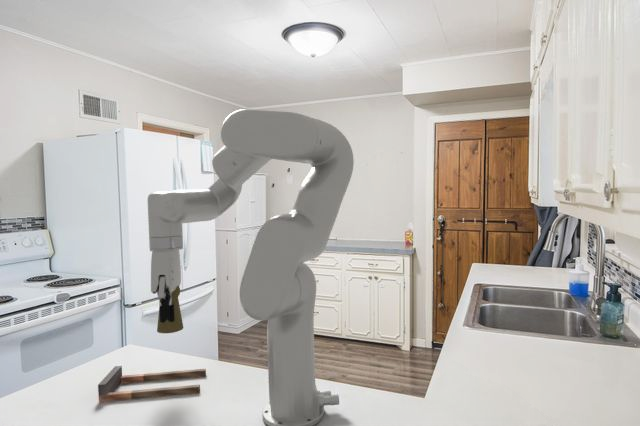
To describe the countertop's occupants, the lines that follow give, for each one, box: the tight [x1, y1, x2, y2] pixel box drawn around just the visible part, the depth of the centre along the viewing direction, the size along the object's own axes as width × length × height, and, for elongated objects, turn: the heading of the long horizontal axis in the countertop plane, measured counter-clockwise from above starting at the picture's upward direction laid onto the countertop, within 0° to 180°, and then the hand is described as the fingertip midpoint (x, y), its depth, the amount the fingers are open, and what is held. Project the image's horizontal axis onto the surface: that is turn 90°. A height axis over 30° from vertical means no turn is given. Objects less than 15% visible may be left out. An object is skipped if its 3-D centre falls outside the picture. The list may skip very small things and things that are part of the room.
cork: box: [156, 286, 184, 334], centre depth 100 cm, size 6×6×11 cm
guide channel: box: [97, 365, 207, 403], centre depth 99 cm, size 22×10×4 cm, turn 97°
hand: (169, 318), depth 99 cm, fingers closed on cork, 3 cm apart
